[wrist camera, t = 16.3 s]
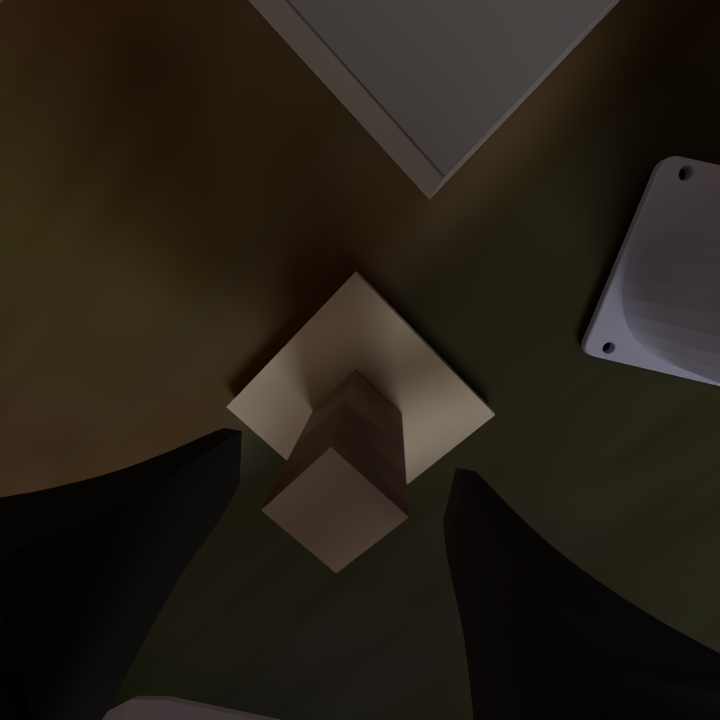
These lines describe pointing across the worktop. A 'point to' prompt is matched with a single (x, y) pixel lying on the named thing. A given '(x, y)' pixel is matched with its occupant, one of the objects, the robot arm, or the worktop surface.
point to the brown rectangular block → (344, 475)
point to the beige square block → (376, 363)
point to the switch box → (432, 66)
